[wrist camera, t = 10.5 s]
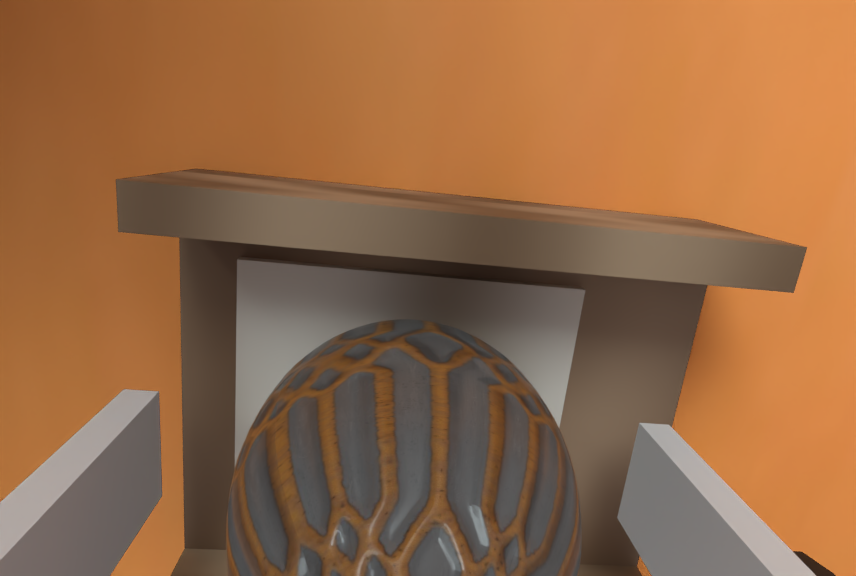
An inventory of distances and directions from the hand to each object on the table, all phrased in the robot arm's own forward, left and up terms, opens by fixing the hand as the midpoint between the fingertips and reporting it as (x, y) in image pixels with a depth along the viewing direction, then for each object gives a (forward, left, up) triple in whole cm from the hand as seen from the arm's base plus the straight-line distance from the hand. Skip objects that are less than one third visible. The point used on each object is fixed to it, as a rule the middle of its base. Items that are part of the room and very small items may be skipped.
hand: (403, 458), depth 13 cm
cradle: (+1, 0, -4) cm, 4 cm away
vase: (0, 0, -2) cm, 2 cm away
